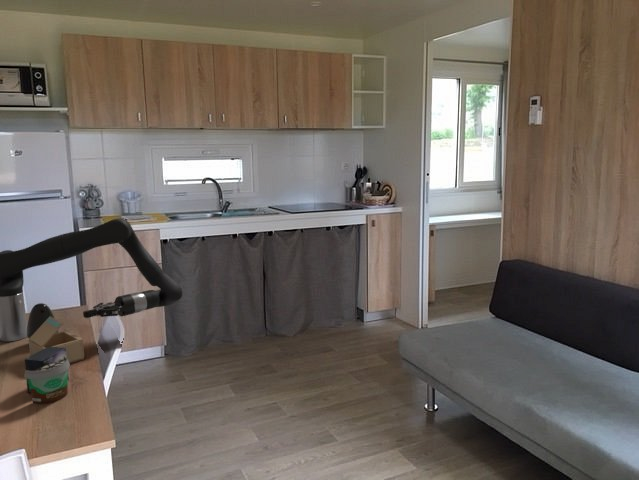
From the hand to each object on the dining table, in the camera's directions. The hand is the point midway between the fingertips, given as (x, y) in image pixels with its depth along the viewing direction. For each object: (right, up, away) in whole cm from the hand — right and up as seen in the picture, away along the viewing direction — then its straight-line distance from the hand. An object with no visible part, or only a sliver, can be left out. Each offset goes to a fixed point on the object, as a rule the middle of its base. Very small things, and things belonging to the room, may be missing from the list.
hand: (84, 314), depth 183 cm
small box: (+1, -18, -26) cm, 31 cm away
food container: (+7, -19, -34) cm, 40 cm away
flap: (-11, -8, -11) cm, 18 cm away
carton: (-7, -14, -5) cm, 17 cm away
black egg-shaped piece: (-19, -12, +10) cm, 25 cm away
